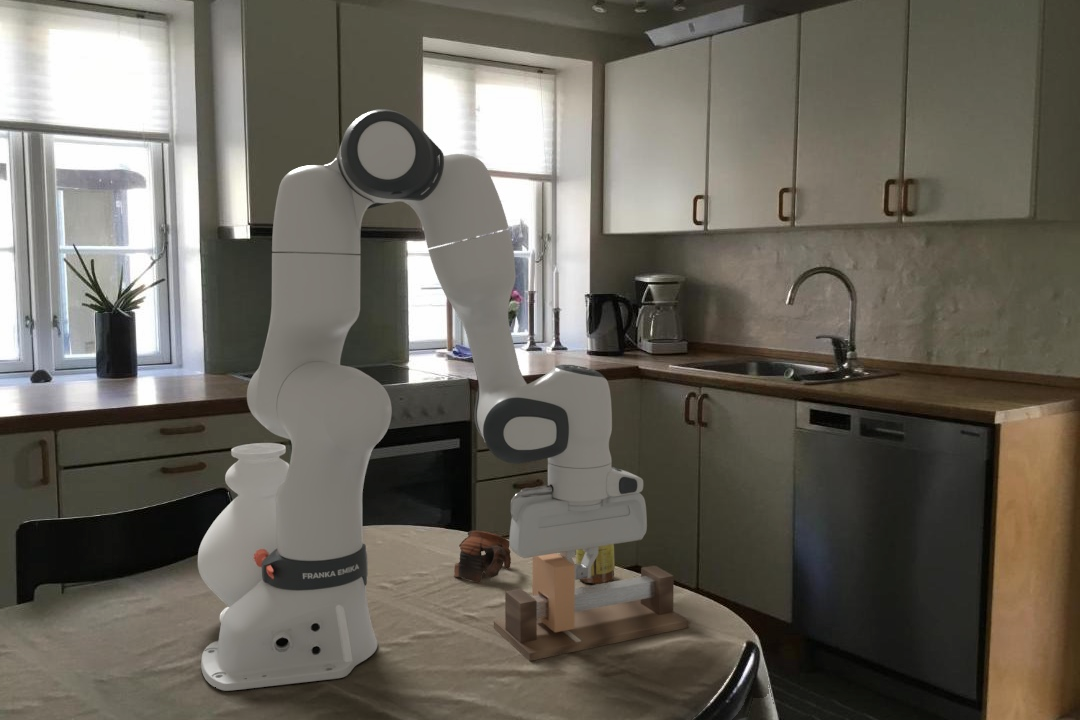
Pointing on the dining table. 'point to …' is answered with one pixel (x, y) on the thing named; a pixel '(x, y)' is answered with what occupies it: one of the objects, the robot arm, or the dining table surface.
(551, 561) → the collar
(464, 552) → the broken clay pot
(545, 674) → the dining table surface
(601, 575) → the sauce bottle
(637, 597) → the rod stand
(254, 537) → the decorative vase
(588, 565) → the robot arm
